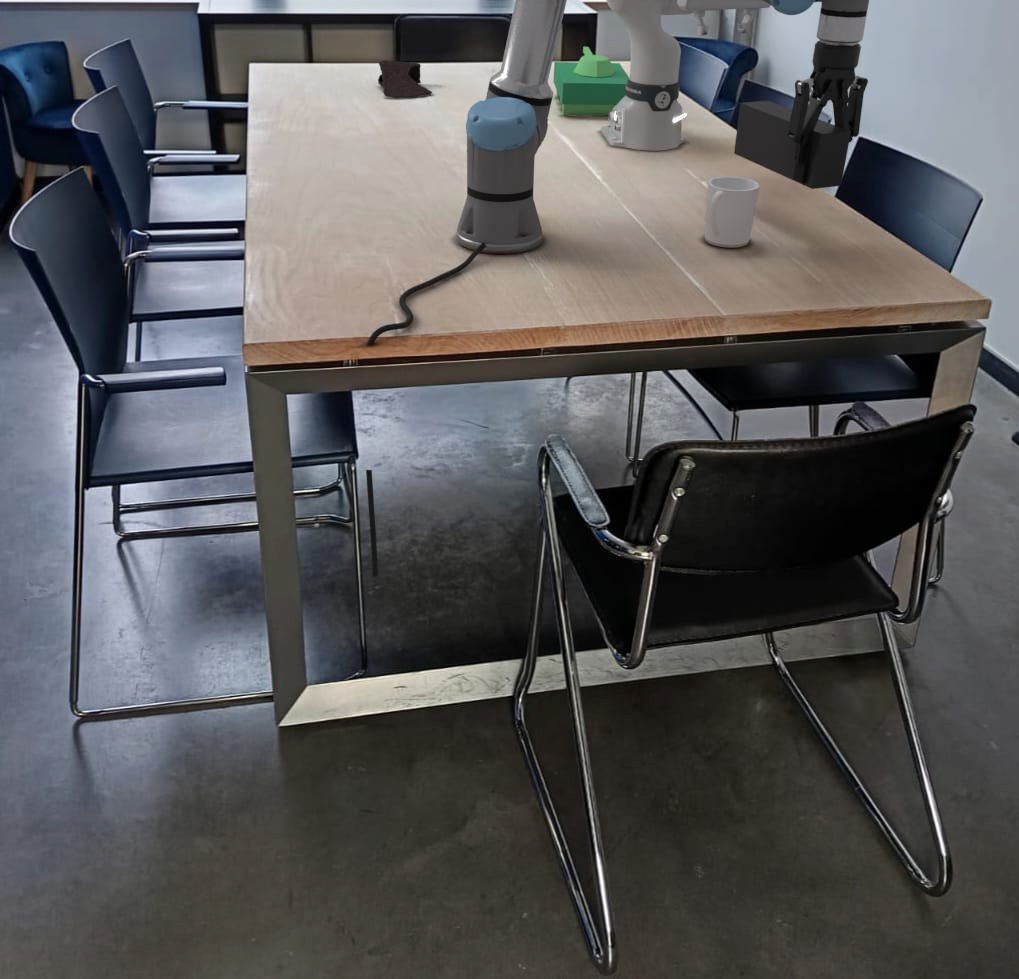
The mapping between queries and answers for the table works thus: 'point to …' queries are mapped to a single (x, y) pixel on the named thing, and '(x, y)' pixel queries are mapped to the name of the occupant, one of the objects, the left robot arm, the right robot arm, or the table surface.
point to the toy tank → (589, 85)
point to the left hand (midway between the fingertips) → (815, 179)
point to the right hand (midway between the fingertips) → (722, 34)
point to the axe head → (401, 79)
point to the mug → (730, 211)
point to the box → (790, 144)
